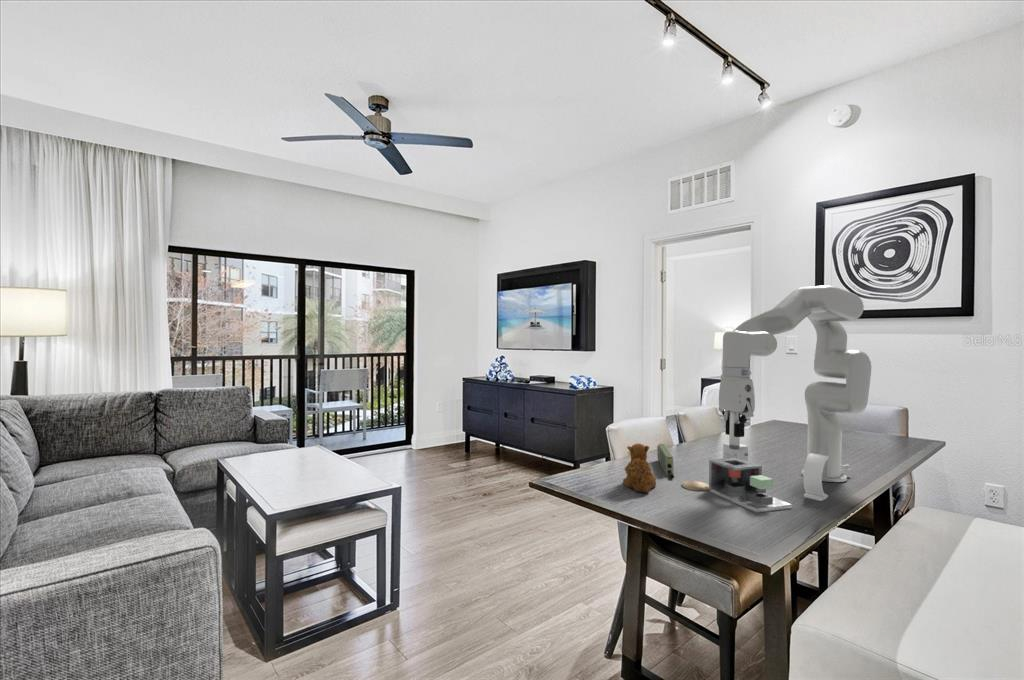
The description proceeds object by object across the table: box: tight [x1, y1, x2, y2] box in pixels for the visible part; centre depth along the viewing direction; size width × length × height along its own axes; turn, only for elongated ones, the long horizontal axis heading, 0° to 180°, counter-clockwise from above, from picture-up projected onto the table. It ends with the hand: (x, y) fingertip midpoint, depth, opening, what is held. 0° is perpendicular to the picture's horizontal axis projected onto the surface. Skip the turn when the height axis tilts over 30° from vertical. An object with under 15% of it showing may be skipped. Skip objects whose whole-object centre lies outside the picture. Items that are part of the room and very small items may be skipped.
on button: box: [750, 475, 774, 494], centre depth 135 cm, size 4×4×4 cm
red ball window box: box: [705, 458, 793, 514], centre depth 140 cm, size 12×20×9 cm, turn 17°
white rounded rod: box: [728, 411, 741, 450], centre depth 144 cm, size 3×3×12 cm
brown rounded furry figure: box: [622, 443, 657, 494], centre depth 148 cm, size 10×14×13 cm
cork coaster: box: [681, 480, 709, 492], centre depth 150 cm, size 8×8×1 cm
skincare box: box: [722, 442, 749, 461], centre depth 177 cm, size 6×6×7 cm
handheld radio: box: [656, 443, 675, 480], centre depth 170 cm, size 7×3×25 cm
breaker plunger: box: [729, 469, 741, 482], centre depth 144 cm, size 3×3×4 cm
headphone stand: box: [802, 453, 829, 502], centre depth 141 cm, size 5×6×12 cm
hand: (734, 435), depth 144 cm, fingers closed on white rounded rod, 2 cm apart
